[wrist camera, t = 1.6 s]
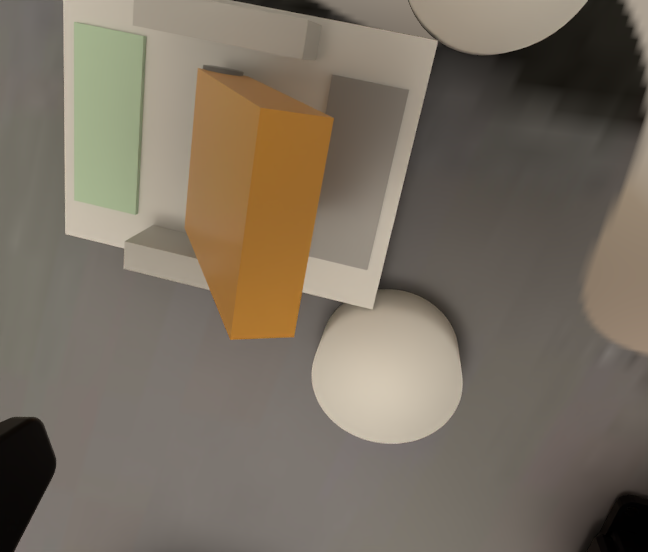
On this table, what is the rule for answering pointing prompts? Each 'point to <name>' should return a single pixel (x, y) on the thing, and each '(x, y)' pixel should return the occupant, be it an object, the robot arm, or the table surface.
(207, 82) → the long orange brick
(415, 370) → the cream dome knob
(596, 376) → the table surface
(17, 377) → the table surface
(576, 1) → the cream round disc
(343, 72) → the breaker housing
